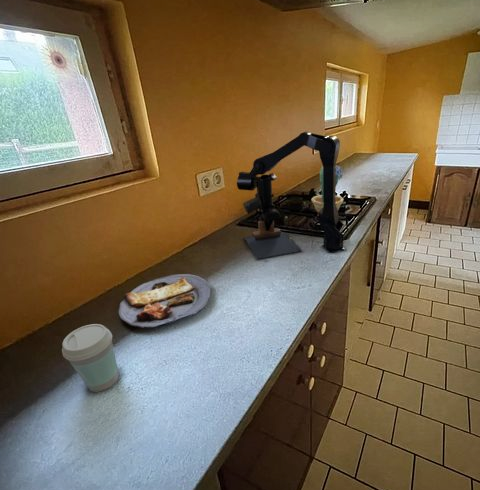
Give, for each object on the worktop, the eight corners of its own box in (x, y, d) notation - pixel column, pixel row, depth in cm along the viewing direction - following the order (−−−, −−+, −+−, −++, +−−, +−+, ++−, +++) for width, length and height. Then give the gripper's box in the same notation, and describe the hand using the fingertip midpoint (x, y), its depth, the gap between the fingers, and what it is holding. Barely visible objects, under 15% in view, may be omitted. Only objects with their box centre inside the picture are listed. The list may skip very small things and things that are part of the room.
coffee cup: (92, 366, 67) (73, 323, 61) (131, 362, 67) (116, 320, 62) (72, 400, 59) (48, 355, 54) (117, 395, 60) (98, 350, 54)
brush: (277, 233, 127) (277, 217, 124) (281, 236, 124) (280, 220, 120) (252, 237, 124) (251, 221, 121) (255, 241, 121) (253, 224, 117)
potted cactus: (321, 222, 139) (323, 167, 128) (305, 212, 152) (305, 161, 140) (349, 216, 145) (353, 163, 133) (331, 207, 157) (333, 158, 146)
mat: (283, 232, 130) (283, 231, 130) (301, 251, 113) (301, 250, 113) (244, 239, 126) (244, 238, 125) (257, 259, 109) (257, 258, 108)
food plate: (122, 343, 73) (118, 332, 71) (117, 296, 91) (114, 286, 90) (221, 311, 83) (219, 300, 81) (199, 274, 101) (197, 265, 99)
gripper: (238, 188, 121) (241, 224, 128) (250, 200, 105) (253, 241, 112) (265, 184, 124) (267, 220, 131) (280, 196, 108) (281, 236, 115)
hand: (266, 229), depth 122 cm, fingers closed on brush, 2 cm apart
